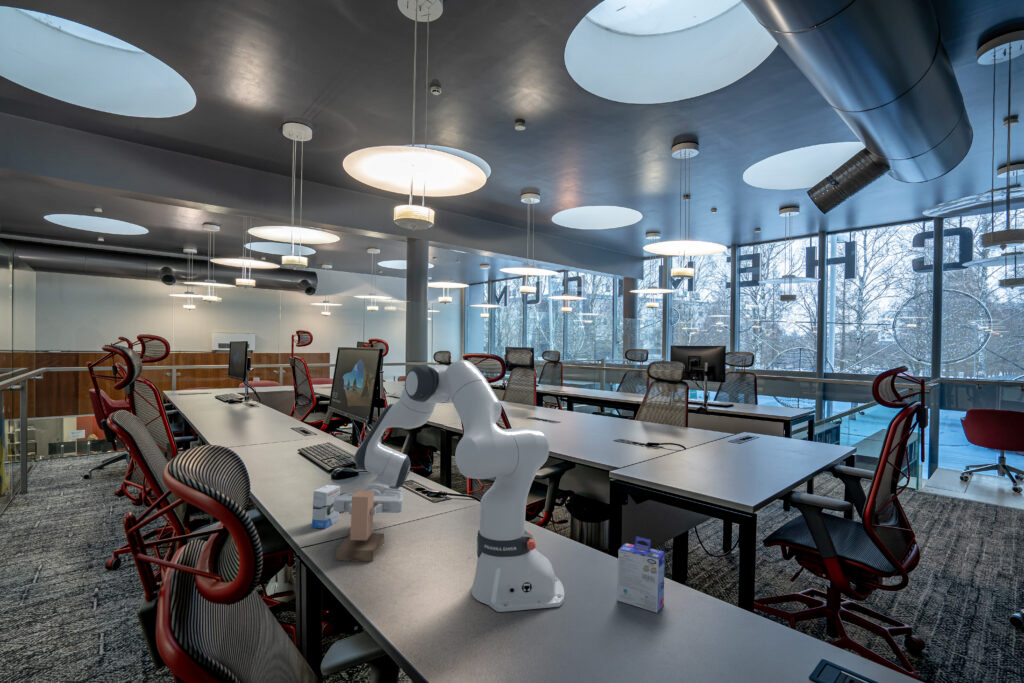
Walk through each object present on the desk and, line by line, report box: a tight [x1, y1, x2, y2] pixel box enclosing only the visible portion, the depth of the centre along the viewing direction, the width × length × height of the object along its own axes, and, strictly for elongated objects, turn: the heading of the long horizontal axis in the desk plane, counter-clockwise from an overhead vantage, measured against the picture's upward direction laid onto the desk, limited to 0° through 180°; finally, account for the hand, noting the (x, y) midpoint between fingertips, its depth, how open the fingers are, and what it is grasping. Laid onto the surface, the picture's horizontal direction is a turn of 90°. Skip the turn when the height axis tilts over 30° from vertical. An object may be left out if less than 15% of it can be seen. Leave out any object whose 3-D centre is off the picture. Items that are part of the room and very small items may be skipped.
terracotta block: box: [350, 490, 374, 540], centre depth 134 cm, size 4×6×12 cm
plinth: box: [335, 532, 385, 562], centre depth 134 cm, size 10×12×3 cm
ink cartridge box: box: [616, 536, 666, 613], centre depth 110 cm, size 10×6×14 cm, turn 58°
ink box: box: [311, 484, 341, 530], centre depth 155 cm, size 8×5×12 cm, turn 168°
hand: (361, 511), depth 134 cm, fingers closed on terracotta block, 4 cm apart
